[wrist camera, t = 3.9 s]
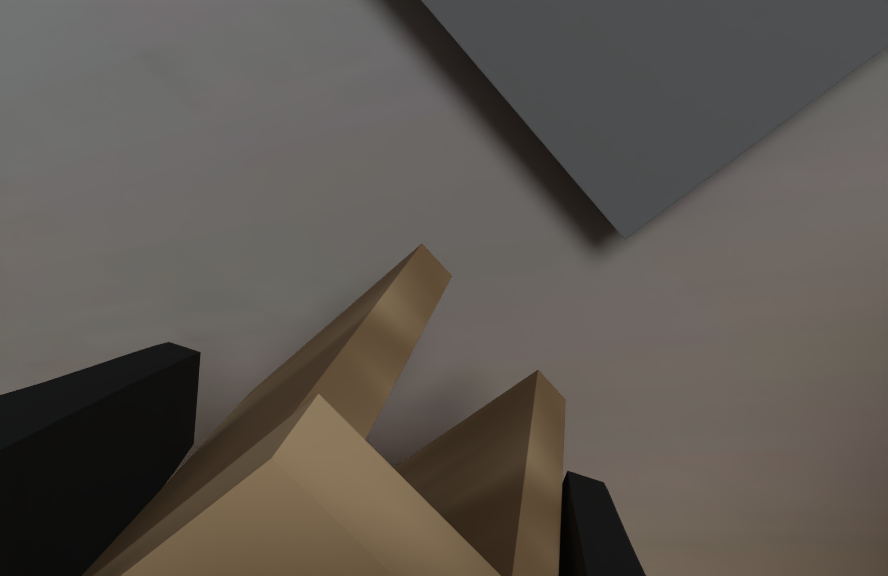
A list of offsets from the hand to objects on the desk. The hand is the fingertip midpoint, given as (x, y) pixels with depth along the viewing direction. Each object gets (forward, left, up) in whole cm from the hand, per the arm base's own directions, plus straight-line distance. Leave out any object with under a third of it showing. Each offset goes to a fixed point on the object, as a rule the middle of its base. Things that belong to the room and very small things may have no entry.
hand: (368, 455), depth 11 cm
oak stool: (0, 0, -2) cm, 2 cm away
